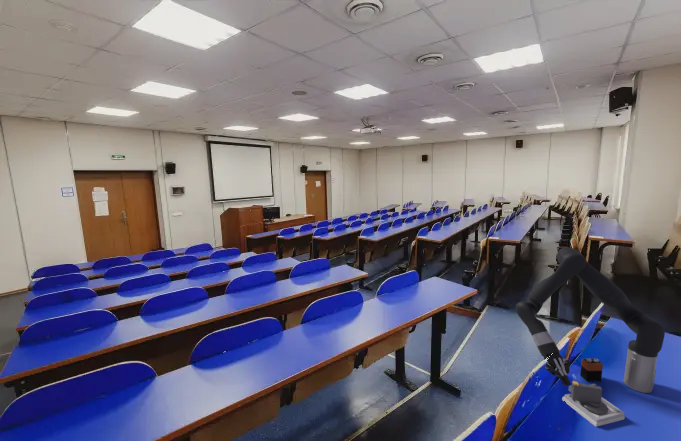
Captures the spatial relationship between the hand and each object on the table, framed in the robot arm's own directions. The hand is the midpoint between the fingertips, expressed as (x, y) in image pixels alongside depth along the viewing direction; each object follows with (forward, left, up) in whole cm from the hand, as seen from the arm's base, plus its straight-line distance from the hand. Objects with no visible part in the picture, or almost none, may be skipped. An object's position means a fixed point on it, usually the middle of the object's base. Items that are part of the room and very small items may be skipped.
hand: (568, 385), depth 127 cm
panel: (-5, +7, -7) cm, 11 cm away
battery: (-23, -8, -7) cm, 25 cm away
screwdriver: (-13, -3, -7) cm, 15 cm away
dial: (-4, +6, -5) cm, 9 cm away
